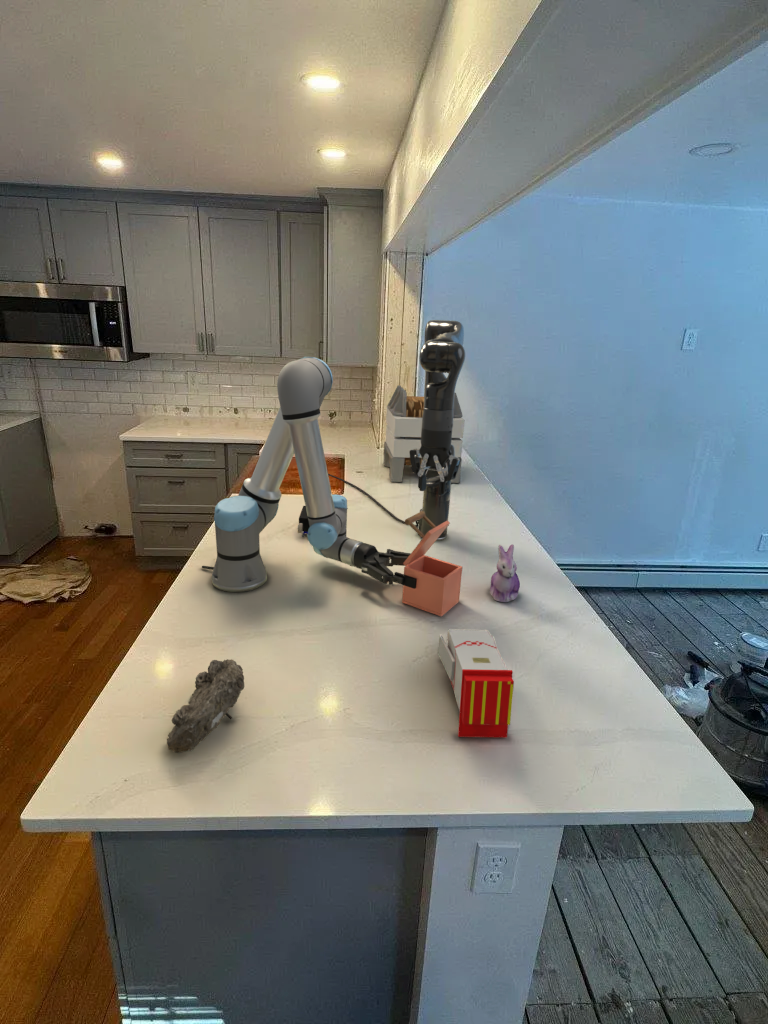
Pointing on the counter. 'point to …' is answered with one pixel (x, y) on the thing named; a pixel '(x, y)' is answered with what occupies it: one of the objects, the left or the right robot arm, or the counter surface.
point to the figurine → (505, 577)
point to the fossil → (206, 705)
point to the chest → (433, 585)
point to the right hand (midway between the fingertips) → (432, 492)
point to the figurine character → (303, 522)
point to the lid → (424, 536)
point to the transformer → (412, 432)
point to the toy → (478, 682)
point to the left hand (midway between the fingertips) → (426, 576)
